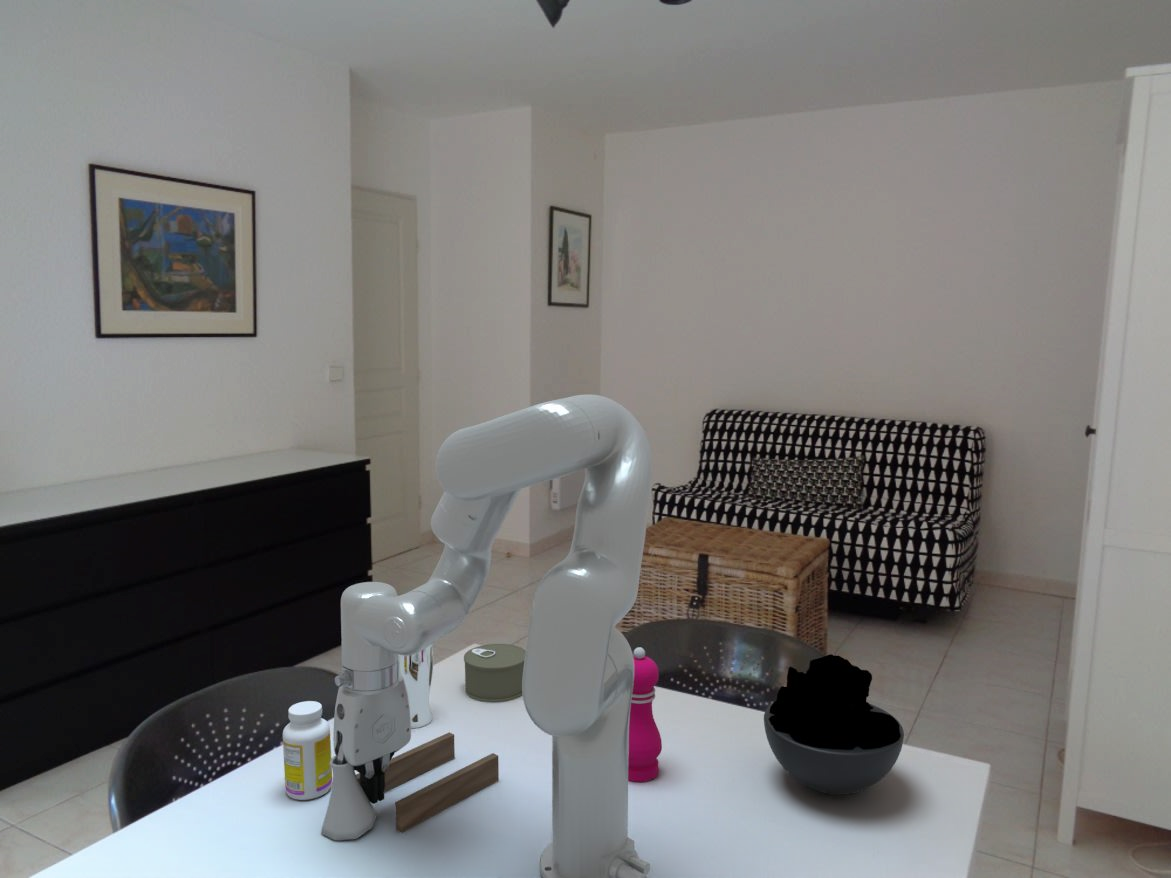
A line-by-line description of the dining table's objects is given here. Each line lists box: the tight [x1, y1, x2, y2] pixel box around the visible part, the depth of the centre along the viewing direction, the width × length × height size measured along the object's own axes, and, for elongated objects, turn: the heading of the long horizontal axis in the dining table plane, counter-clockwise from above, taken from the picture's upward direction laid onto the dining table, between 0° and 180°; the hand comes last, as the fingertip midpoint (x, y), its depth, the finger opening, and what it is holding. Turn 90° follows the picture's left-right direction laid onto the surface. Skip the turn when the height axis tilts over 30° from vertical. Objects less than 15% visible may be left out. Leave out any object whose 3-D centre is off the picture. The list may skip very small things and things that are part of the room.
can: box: [463, 643, 526, 704], centre depth 161 cm, size 12×12×7 cm
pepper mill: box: [628, 646, 663, 783], centre depth 130 cm, size 7×7×20 cm
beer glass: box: [398, 644, 434, 729], centre depth 148 cm, size 7×7×15 cm
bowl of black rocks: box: [763, 653, 905, 795], centre depth 127 cm, size 20×20×19 cm
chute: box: [355, 732, 500, 833], centre depth 126 cm, size 11×18×4 cm, turn 139°
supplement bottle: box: [282, 700, 333, 801], centre depth 126 cm, size 7×7×13 cm
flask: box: [320, 755, 378, 841], centre depth 116 cm, size 7×7×10 cm
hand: (372, 798), depth 119 cm, fingers closed
